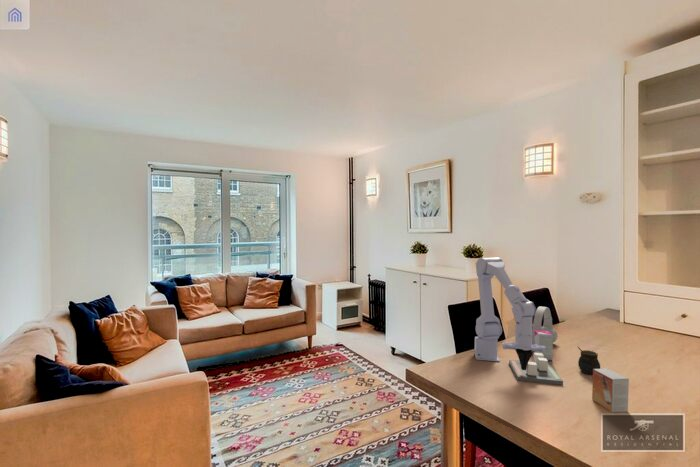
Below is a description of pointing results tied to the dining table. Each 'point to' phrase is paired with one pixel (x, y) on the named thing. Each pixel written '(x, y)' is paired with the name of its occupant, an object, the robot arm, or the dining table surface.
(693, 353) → the dining table surface
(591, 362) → the mate gourd
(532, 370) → the block
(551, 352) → the supplement box
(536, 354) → the handle
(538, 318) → the headphones
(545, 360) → the handle
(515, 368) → the breaker panel
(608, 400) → the small box
